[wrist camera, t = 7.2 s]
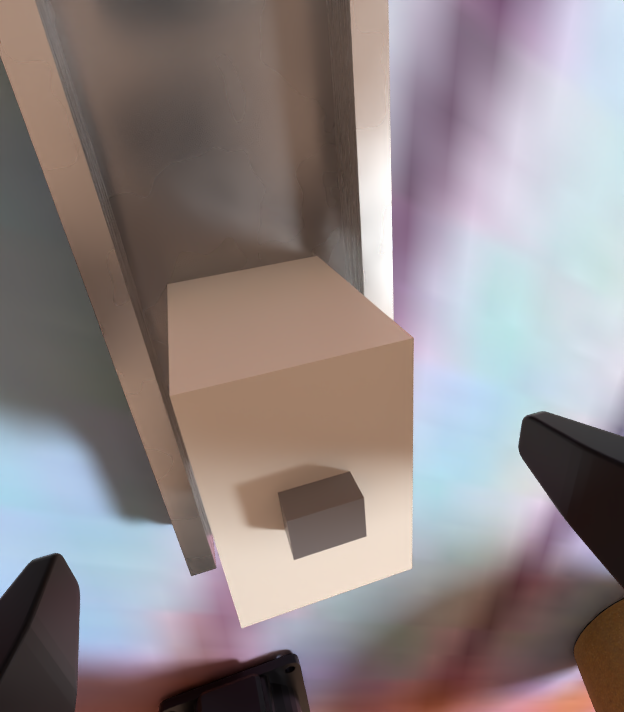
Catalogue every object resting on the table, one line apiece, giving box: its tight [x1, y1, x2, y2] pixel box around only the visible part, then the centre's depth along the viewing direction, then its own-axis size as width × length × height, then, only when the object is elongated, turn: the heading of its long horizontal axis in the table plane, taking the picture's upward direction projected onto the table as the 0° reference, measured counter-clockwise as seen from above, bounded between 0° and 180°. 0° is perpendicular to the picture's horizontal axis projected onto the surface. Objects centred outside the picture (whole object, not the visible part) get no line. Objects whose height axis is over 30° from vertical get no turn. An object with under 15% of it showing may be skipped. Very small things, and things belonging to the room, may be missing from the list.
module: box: [167, 256, 414, 628], centre depth 11 cm, size 6×4×6 cm, turn 6°
